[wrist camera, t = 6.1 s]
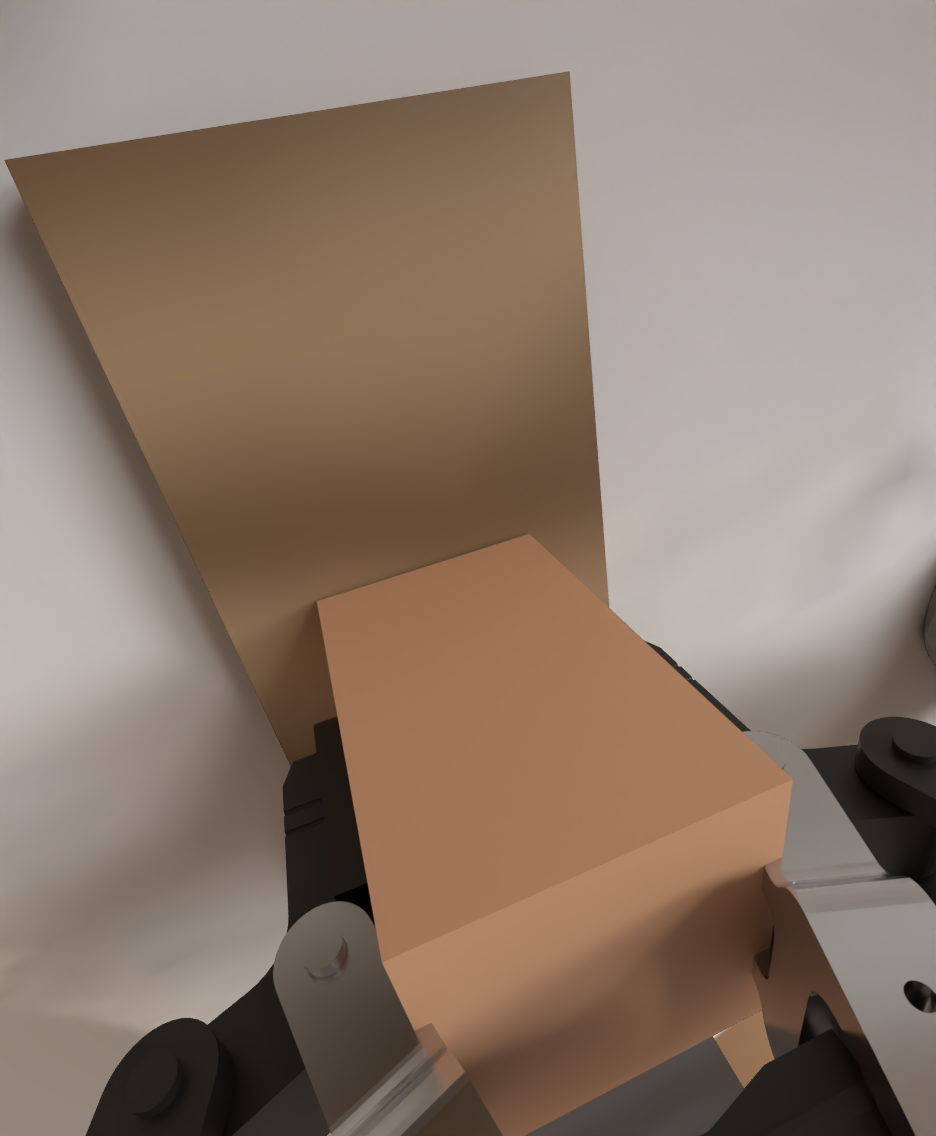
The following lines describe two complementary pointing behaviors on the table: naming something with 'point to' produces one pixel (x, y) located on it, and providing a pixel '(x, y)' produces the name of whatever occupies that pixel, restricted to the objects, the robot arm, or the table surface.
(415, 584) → the tan tall block
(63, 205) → the rail
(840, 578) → the table surface
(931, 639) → the coffeepot
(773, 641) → the table surface
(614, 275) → the table surface
